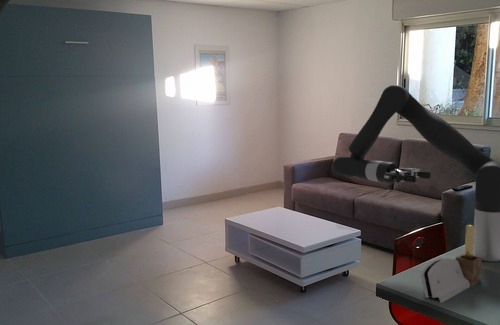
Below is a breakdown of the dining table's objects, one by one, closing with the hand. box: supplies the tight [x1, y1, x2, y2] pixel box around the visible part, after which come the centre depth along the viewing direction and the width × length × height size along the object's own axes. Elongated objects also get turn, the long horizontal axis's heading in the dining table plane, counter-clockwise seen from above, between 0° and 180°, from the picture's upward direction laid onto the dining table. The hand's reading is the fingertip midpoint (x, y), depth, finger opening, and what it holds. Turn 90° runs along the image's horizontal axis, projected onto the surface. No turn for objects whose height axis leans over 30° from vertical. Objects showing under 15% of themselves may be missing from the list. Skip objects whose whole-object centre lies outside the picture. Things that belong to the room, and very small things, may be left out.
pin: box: [464, 224, 475, 261], centre depth 139 cm, size 2×2×15 cm
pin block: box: [455, 252, 483, 287], centre depth 140 cm, size 5×5×8 cm
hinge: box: [420, 258, 471, 303], centre depth 134 cm, size 17×5×10 cm, turn 128°
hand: (422, 177), depth 151 cm, fingers open, 8 cm apart
